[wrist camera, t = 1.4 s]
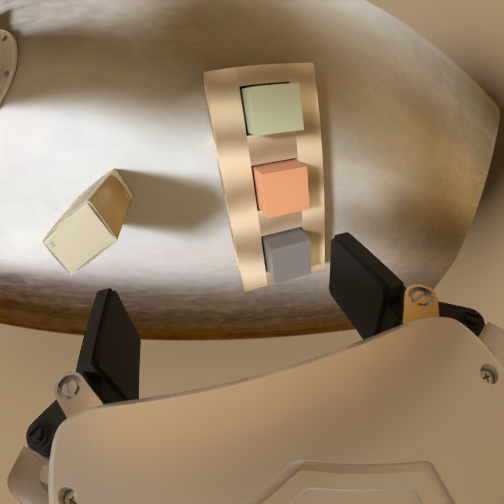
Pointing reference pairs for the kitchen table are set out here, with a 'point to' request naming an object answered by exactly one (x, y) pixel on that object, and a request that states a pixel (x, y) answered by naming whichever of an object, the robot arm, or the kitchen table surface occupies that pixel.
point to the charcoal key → (287, 254)
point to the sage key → (272, 109)
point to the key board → (264, 151)
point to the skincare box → (90, 223)
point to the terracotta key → (281, 187)
